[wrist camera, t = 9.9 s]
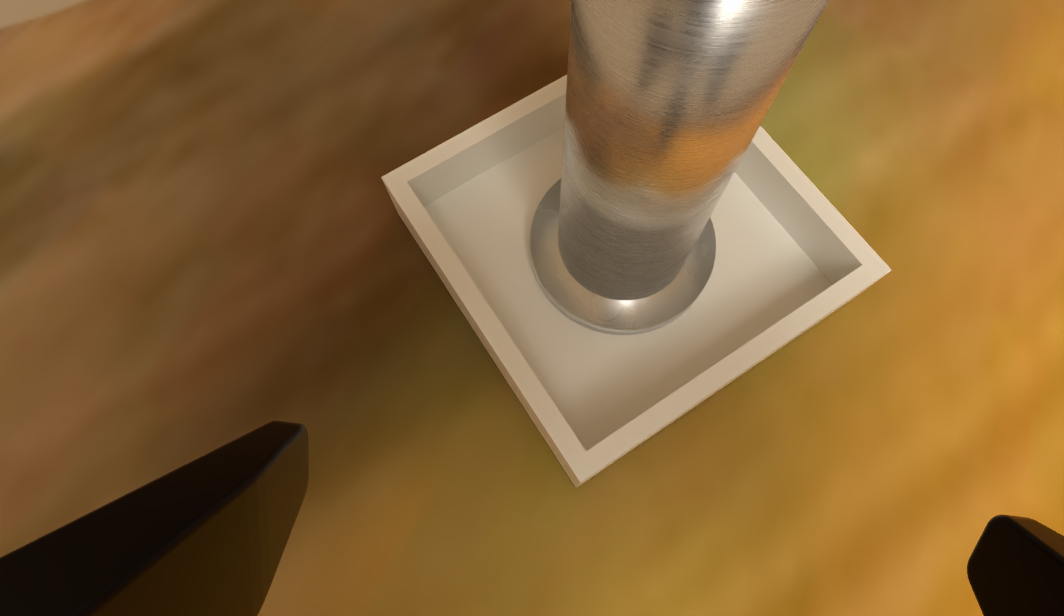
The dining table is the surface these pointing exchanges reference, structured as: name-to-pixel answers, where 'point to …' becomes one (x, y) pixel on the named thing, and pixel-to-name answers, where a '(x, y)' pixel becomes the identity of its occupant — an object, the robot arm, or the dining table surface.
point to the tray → (604, 359)
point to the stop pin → (655, 149)
